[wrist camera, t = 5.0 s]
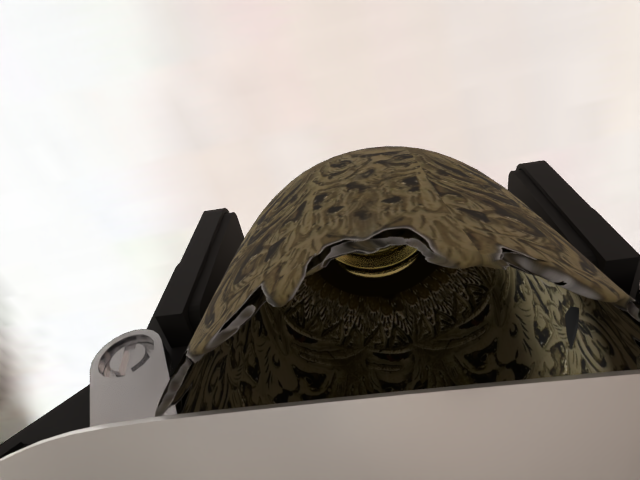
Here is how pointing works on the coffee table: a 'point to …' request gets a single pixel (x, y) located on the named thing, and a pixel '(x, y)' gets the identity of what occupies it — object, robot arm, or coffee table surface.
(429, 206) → the cup
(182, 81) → the coffee table surface
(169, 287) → the robot arm
